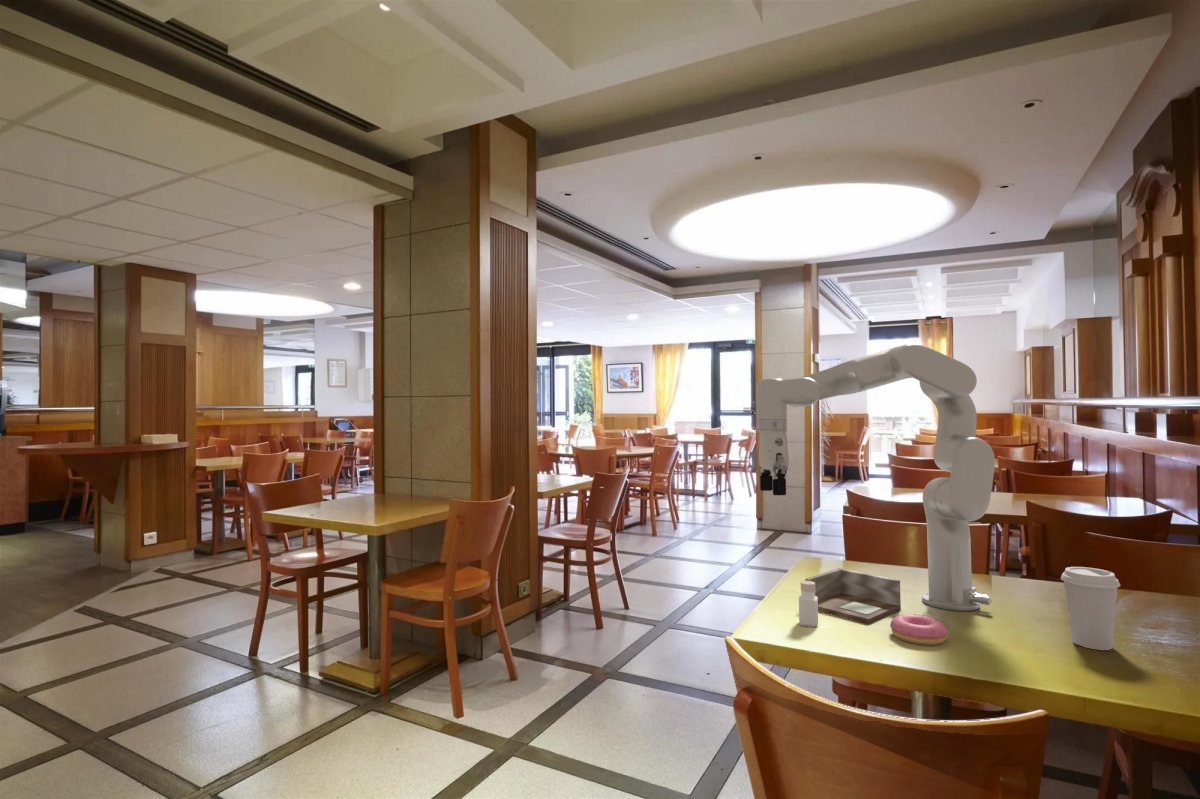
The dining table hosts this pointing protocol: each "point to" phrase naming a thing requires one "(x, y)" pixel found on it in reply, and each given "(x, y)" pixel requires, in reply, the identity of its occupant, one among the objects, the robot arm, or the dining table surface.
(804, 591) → the salt shaker
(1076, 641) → the coffee cup
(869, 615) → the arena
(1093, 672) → the dining table surface
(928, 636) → the doughnut
